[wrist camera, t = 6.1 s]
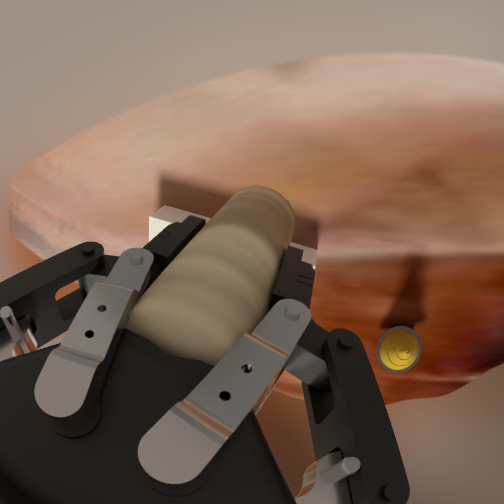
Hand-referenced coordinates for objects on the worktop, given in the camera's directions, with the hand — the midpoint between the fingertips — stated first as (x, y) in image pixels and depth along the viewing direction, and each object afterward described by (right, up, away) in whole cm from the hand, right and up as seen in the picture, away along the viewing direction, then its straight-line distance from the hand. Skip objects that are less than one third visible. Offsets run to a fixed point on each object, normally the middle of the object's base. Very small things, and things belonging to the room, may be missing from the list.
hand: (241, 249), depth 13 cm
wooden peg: (+1, +2, +3) cm, 3 cm away
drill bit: (+17, -9, +17) cm, 25 cm away
